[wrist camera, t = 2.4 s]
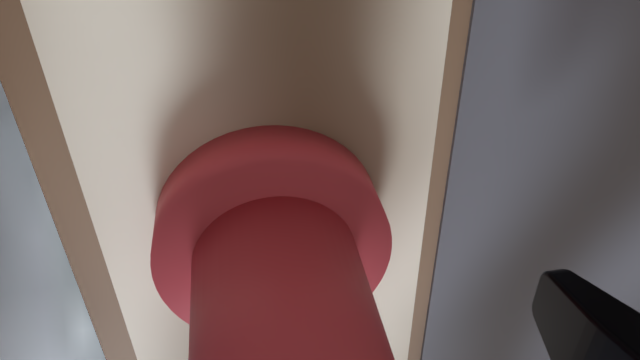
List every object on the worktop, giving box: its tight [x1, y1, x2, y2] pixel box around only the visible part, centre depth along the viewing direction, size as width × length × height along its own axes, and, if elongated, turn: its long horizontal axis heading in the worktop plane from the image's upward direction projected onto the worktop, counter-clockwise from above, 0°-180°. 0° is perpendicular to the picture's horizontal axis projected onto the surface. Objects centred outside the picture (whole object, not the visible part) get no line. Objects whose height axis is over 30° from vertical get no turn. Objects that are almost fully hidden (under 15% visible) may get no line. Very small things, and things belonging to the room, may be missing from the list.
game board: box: [0, 0, 640, 360], centre depth 12 cm, size 22×16×1 cm
